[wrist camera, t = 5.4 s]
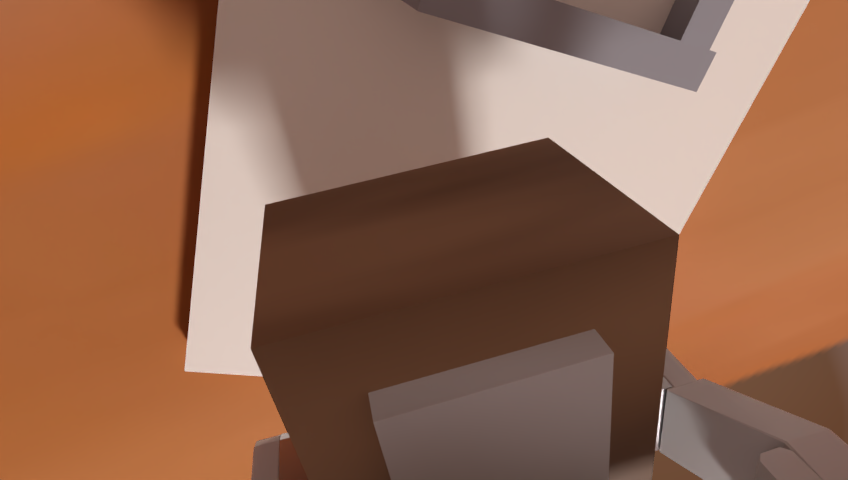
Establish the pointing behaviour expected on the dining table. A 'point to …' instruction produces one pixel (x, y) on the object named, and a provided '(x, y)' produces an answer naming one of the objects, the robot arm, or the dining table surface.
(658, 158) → the wall panel
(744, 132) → the dining table surface
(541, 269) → the frame
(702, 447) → the robot arm
